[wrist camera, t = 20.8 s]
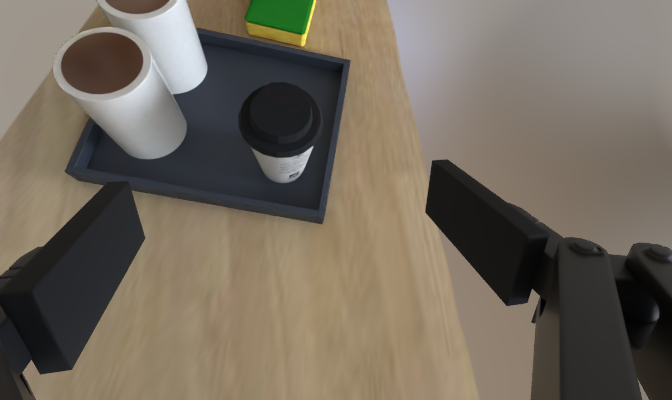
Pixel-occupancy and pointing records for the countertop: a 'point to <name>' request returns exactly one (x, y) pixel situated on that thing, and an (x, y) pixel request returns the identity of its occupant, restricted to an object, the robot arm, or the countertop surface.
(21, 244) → the countertop surface
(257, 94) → the coffee cup
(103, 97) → the cream cup
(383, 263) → the countertop surface
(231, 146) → the cup tray
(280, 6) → the dish sponge
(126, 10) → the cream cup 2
